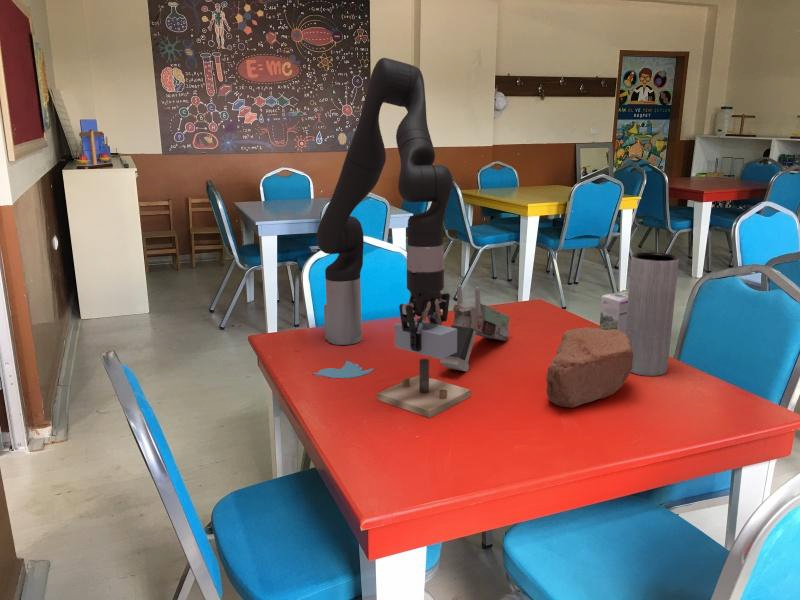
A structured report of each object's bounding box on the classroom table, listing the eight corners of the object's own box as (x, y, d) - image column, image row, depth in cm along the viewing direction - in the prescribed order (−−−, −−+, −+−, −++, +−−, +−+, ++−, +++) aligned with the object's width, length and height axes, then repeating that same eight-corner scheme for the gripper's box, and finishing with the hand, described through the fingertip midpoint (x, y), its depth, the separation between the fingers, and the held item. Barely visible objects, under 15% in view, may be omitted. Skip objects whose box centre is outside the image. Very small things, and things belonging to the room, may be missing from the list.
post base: (377, 399, 138) (376, 361, 135) (419, 380, 148) (419, 345, 146) (429, 418, 129) (430, 377, 127) (470, 396, 139) (471, 358, 137)
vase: (617, 361, 160) (627, 251, 153) (660, 362, 159) (671, 252, 152) (627, 375, 150) (637, 260, 143) (672, 377, 149) (685, 260, 142)
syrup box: (630, 351, 167) (635, 296, 163) (615, 356, 163) (619, 299, 160) (611, 345, 171) (616, 291, 167) (596, 349, 168) (600, 295, 164)
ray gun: (433, 365, 150) (447, 280, 151) (478, 373, 178) (490, 301, 180) (462, 370, 146) (476, 283, 148) (503, 378, 175) (515, 304, 177)
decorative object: (377, 371, 155) (346, 361, 161) (377, 368, 155) (346, 359, 161) (341, 386, 146) (310, 376, 152) (341, 384, 146) (310, 374, 152)
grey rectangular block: (395, 347, 137) (394, 324, 136) (411, 340, 141) (411, 318, 140) (440, 359, 130) (440, 335, 128) (456, 352, 134) (457, 328, 133)
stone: (511, 397, 135) (535, 335, 128) (559, 359, 155) (582, 304, 149) (583, 439, 128) (612, 376, 121) (623, 393, 148) (650, 337, 141)
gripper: (432, 259, 139) (432, 335, 143) (387, 270, 128) (388, 352, 132) (461, 263, 134) (460, 341, 138) (417, 275, 124) (417, 359, 128)
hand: (425, 346), depth 135 cm, fingers closed on grey rectangular block, 5 cm apart
